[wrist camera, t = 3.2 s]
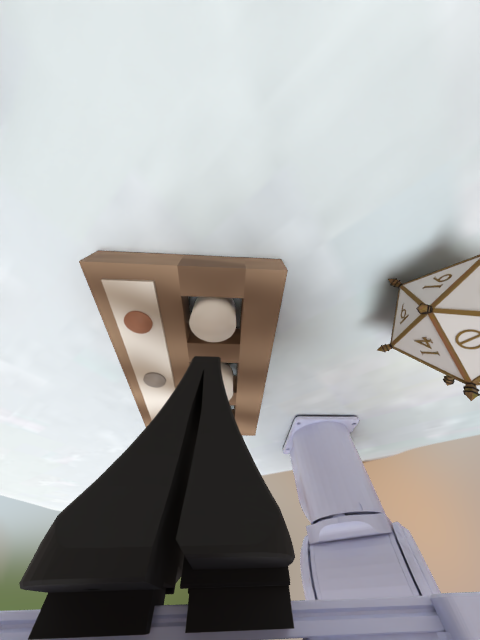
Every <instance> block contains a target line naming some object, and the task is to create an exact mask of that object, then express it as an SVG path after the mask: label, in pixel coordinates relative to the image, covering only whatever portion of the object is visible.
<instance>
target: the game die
mask: <svg viewBox="0 0 480 640" xmlns="http://www.w3.org/2000/svg"><path fill="white" fill-rule="evenodd" d="M388 280H389V282H390V285H393V286H394V287H398V288H399V291H398V297H397V304H396V310H395V317H394V323H393V329H392V336H391V342H390V344H387V345H386V344H385V345H383V346H382V345H381V347H380V348H379V349H378V351H383V352H385V351H389V350H390V349H392V348H393V349H395V350H397V351H399V352H401V353H403V354H405V355H407V356H409V357H411V358H413V359H415V360H417V361H419V362H421V363H423V364H425V365H427V366H429V367H431V368H433V369H435V370H437V371H439V372H441V373H443V374H445V375H446V376H444V379H443V380H444V382H445V383H446V384H447V386H448V385H450V384H453V383H454V380H455V379H456V380H458V381H460V382H462V383H464V384H466V385H465V386H464V390H465V391H463V392H464V395H466V396H467V397H468V398H469V399H470V400H471V401H472V400H473V399H474V398H475V397H477V396H479V395H480V394H478V391H479V390H478V389H477V388H476V385H480V255H477V256H475V257H472V258H470V259H467V260H464V261H462V262H459V263H456V264H454V265H451V266H448V267H446V268H443V269H441V270H438V271H435V272H433V273H430V274H427V275H425V276H422V277H419V278H417V279H414V280H412V281H409V282H406V283H404V284H402V283H401V282H400V280H399V281H398V280H397V278H396V279H388Z"/></svg>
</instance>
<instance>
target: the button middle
mask: <svg viewBox="0 0 480 640" xmlns="http://www.w3.org/2000/svg"><path fill="white" fill-rule="evenodd" d="M221 372H222V378H223V382H224V386H225V390H226V394H227V397H228V401H229V400H230V399H231V398H232V396H233V371H232V369H231V368H230V366H228V365H227V364H225V363H221Z"/></svg>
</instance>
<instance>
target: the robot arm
mask: <svg viewBox="0 0 480 640" xmlns="http://www.w3.org/2000/svg"><path fill="white" fill-rule="evenodd" d="M358 422H359V419H358V417H326V416H298V417H296V418H295V419H294V422H293V425H292V427H291V430H290V432H289V435H288V437H287V440H286V443H285V445H284V448H283V453H284V454H290V457H291V462H292V467H293V472H294V477H295V482H296V487H297V492H298V497H299V502H300V505H301V508H302V510H303V512H304V514H305V515H306V517H307V518H308V520H309V521H310V522H311V525H308V526H306V529H307V534H308V535H307V536H305V538H304V540H303V545H302V548H301V555H300V557H301V558H300V565H301V576H302V583H303V588H304V593H305V598H306V600H300V601H291V600H290V592H289V585H290V578H289V570H288V566H289V565H290V564H291V563H292V562H293V560H294V558H295V555H294V550H293V545H292V542H291V538H290V535H289V532H288V529H287V526H286V524H285V521H284V518H283V516H282V513H281V511H280V508H279V506H278V505H277V503H276V501H275V499H274V498H273V496H272V494H271V493H270V491H269V489H268V487H267V486H266V484H265V482H264V480H263V478H262V476H261V474H260V472H259V471H258V469H257V467H256V465H255V463H254V461H253V459H252V457H251V454H250V452H249V450H248V448H247V446H246V444H245V442H244V440H243V437H242V435H241V433H240V431H239V428H238V426H237V423H236V421H235V418H234V415H233V413H232V410H231V407H230V404H229V401H228V397H227V394H226V390H225V386H224V382H223V378H222V372H221V358H220V357H209V356H195V357H193V359H192V361H191V363H190V365H189V367H188V369H187V371H186V372H185V374H184V376H183V377H182V379H181V381H180V382H179V384H178V385H177V387H176V388H175V390H174V392H173V393H172V395H171V396H170V397H169V399H168V400H167V401H166V403H165V404H164V406H163V407H162V408H161V410H160V411H159V412H158V414H157V415H156V416H155V417H154V419H153V420H152V421H151V422H150V424H149V425H148V426H147V427H146V428H145V430H144V431H143V432H142V433H141V434H140V435H139V436H138V438H137V439H136V440H135V441H134V442H133V443H132V444H131V445H130V446H129V448H128V449H127V450H126V451H125V452H124V453H123V454H122V455H121V456H120V457H119V458H118V459H117V460H116V461H115V462H114V463H113V464H112V465H111V466H110V467H109V468H108V469H107V470H106V471H105V472H104V473H103V474H102V475H101V476H100V477H99V478H98V479H97V480H96V481H95V482H94V483H93V484H92V485H90V486H89V487H88V488H87V489H86V490H85V491H84V492H83V493H82V494H81V495H79V496H78V497H77V498H76V499H75V500H74V501H73V502H72V503H71V504H70V505H69V506H67V507H66V508H65V509H64V510H63V511H62V512H61V513H60V514H59V515H58V516H57V518H56V519H55V521H54V523H53V524H52V526H51V527H50V529H49V531H48V532H47V534H46V535H45V537H44V539H43V540H42V542H41V544H40V546H39V547H38V550H37V552H36V553H35V555H34V557H33V559H32V561H31V563H30V564H29V566H28V568H27V570H26V572H25V574H24V576H23V578H22V580H21V581H20V588H21V589H24V590H32V591H39V592H48V595H47V597H46V599H45V602H44V604H43V606H42V608H41V610H16V611H0V640H264V639H265V640H266V639H285V638H286V639H288V638H303V640H480V592H465V593H442V594H441V592H440V590H439V588H438V586H437V584H436V582H435V580H434V578H433V576H432V574H431V572H430V570H429V568H428V566H427V564H426V562H425V560H424V558H423V556H422V554H421V552H420V550H419V548H418V546H417V545H416V543H415V541H414V539H413V537H412V535H411V533H410V532H409V530H408V529H406V528H405V527H403V526H401V524H400V523H399V522H394V523H392V522H391V521H390V519H389V518H388V517H387V516H386V514H385V512H384V510H383V508H382V505H381V503H380V501H379V498H378V496H377V494H376V492H375V490H374V487H373V485H372V483H371V480H370V479H369V476H368V474H367V472H366V469H365V467H364V465H363V463H362V460H361V458H360V456H359V454H358V451H357V449H356V447H355V445H354V442H353V440H352V438H351V436H350V433H351V432H352V431H353V429H354V428H355V427H356V425H357V424H358ZM180 577H181V584H180V588H181V589H183V588H188V593H189V602H188V605H187V604H186V605H164V599H165V594H174V589H175V584H176V582H177V581H178V580H179V579H180Z"/></svg>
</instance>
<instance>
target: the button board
mask: <svg viewBox="0 0 480 640" xmlns="http://www.w3.org/2000/svg"><path fill="white" fill-rule="evenodd" d="M79 263H80V265H81V268H82V270H83V273H84V275H85V278H86V280H87V282H88V285H89V287H90V290H91V292H92V295H93V297H94V300H95V302H96V305H97V307H98V310H99V312H100V315H101V317H102V320H103V322H104V325H105V327H106V329H107V332H108V334H109V337H110V339H111V342H112V344H113V347H114V349H115V352H116V354H117V357H118V359H119V362H120V364H121V367H122V369H123V371H124V374H125V376H126V379H127V381H128V384H129V386H130V389H131V391H132V394H133V396H134V399H135V401H136V404H137V406H138V409H139V411H140V414H141V416H142V418H143V421H144V423H145V426H146V427H147V426H148V425H149V424H150V422H151V421H152V420H153V419H154V417H155V416H156V415H157V414H158V412H159V411H160V410H161V408H162V407H163V406H164V404H165V403H166V401H167V400H168V399H169V397H170V396H171V395H172V393H173V392H174V390H175V388H176V387H177V385H178V384H179V382H180V381H181V379H182V377H183V376H184V374H185V372H186V371H187V369H188V367H189V365H190V363H191V361H192V359H193V357H195V356H209V357H220V358H221V363H237V374H236V376H233V396H232V398H231V399H230V400H229V404H230V405H234V409H231V410H232V413H233V415H234V418H235V421H236V423H237V426H238V428H239V431H240V433H241V435H255V433H256V428H257V423H258V418H259V413H260V408H261V403H262V398H263V393H264V388H265V382H266V377H267V372H268V367H269V362H270V357H271V352H272V347H273V342H274V337H275V332H276V327H277V322H278V317H279V312H280V307H281V301H282V296H283V291H284V286H285V281H286V276H287V271H288V270H287V269H286V267H285V265H284V263H283V261H282V260H281V259H265V258H243V257H222V256H201V255H179V254H158V253H136V252H115V251H97V252H95V253H93V254H91V255H89V256H88V257H86V258H84V259H82V260H80V261H79ZM188 296H194V297H221V298H242V301H241V316H240V328H236V329H235V332H234V333H233V335H232V336H231V337H229V338H228V339H226V340H224V341H221V342H207V341H204V340H202V339H200V338H198V337H197V336H196V335H195V334H194V333H193V332H192V330H191V328H190V325H189V320H190V308H189V298H188Z"/></svg>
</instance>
